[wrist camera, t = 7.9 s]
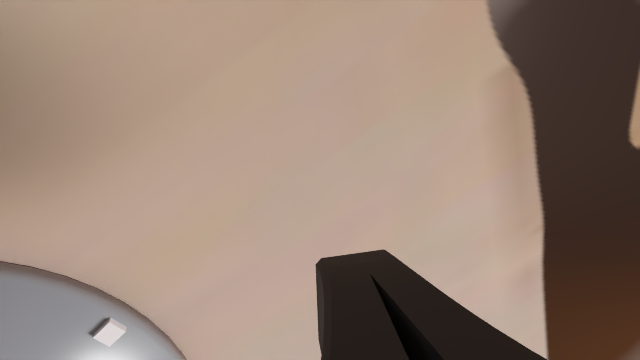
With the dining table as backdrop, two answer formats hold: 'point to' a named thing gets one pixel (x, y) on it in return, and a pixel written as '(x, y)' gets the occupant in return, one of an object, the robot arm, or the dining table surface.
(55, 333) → the dial base
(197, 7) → the dining table surface
